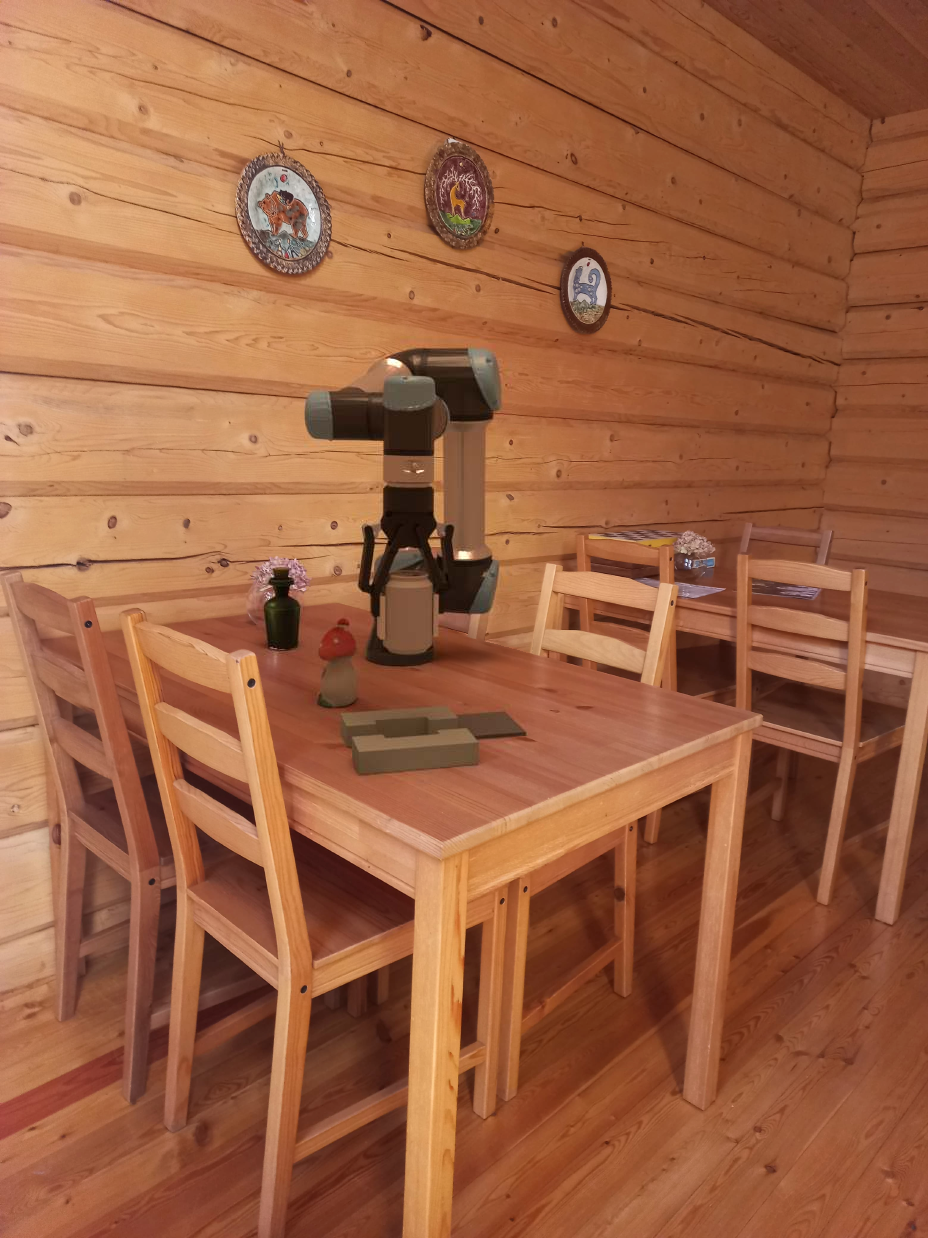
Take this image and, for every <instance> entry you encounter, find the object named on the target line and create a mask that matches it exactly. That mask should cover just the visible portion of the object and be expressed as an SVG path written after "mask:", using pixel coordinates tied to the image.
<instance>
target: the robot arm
mask: <svg viewBox="0 0 928 1238" xmlns="http://www.w3.org/2000/svg"><path fill="white" fill-rule="evenodd" d="M502 402H503V401H502V383H501V375H500V368H499V364H498V360H497V357H496V356H495V353H494V352H493V351H491V350H490V349H486V348H485V349H484V348H476V347H475V348H473V347H448V348H447V347H446V348H445V347H440V348H438V347H435V348H434V347H433V348H430V347H428V348H427V347H416V348H415V347H414V348H410V349H409V348H408V349H406V350H401V351H399V352H396V353H393V354H390V355H388V356H387V355H386V356H385V357H383V358H381V359H378V360H377V361H376V362H374V363H373V364H372V365H370V367H369V368H368V370H367V371H366V374H364V375H363V376H361V377H359V378H358V379H356V380H354V381H352V382H351V383H349V384H348V385H346V386H344V387H342V388H341V389H339V390H328V389H326V390H322V391H321V390H319V391H312V392H310V393H309V394H308V396H307V398H306V400H305V405H304V423H305V429H306V432H307V434H308V435H309V436H310V437H311V438H313V439H316V440H325V441H326V440H327V441H330V442H333V441H363V442H364V441H367V442H368V441H371V442H372V441H373V442H382V445H383V448H382V449H383V450H382V453H383V455H382V481H383V482H385V483H386V485H385V486H384V487H383V488H382V516H381V518H380V520H379V522H375V523H371V524H368V523H364V524H363V525H362V526H361V530H362V536H363V547H362V552H361V561H360V566H359V567H360V568H359V575H358V583H357V587H358V589H359V590H360V591H361V592H362V593H366V594H369V599H370V602H369V603H370V604H369V605H370V607H369V608H370V611H369V612H370V615H371V616H372V617H373V623H372V627H371V629H370V632H369V636H368V638H367V642H366V645H365V659H366V660H368V661H370V662H373V663H374V664H375V663H376V664H379V665H387V666H388V665H389V666H414V665H422V664H426V663H429V662H432V661H433V660H434V659H435V658H436V646H435V642H434V640H433V639H434V638H436V637H439V615H444V613H445V614H446V613H447V614H448V613H449V614H463V615H464V614H465V615H468V616H470V615H484V614H485V615H486V614H488V613H489V612H490V611H491V609H492V607H493V605H494V600H495V597H496V591H497V586H498V579H499V573H500V562H499V560H496V558H494V559H493V551H492V550H493V549H491V548H490V547H489V546H488V545H487V544H486V452H487V451H486V435H487V434H486V430H487V427H488V426H489V425H490V424H491V423H492V422H493V421H494V415H495V414H494V412H495V413H496V412H497V411H501V408H502ZM441 437H442V467H443V468H442V470H443V471H442V475H443V476H442V477H443V478H442V479H443V480H442V481H443V482H442V483H443V485H442V486H443V487H442V489H443V490H442V492H443V497H442V498H443V522H438V521H437V519H436V518H435V515H434V513H435V511H434V510H435V509H434V508H435V489H434V487H433V486H431V484H432V483H433V482H435V441H437V440H438V439H440V438H441ZM435 530H436V533H437V536H438V537H439V540H440V547H439V548H437V550H436V557H435V556H434V555H433V552H432V549H431V546H430V543H429V538H431V536H432V534H433V533H434V531H435ZM380 531H382V532H383V533H384V535H385V536H386V538H387V542H386V545H385V548H384V552H383V553H382V554H380V555H378V556H377V557H376V558H375V560H374V553H375V547H376V546H375V545H376V540H375V539H377V538H378V537H379V534H380ZM407 548H412V549H407ZM401 549H403V550H401ZM373 560H374V563H373ZM373 564H374V565H373ZM372 567H373V575H372ZM399 570H416V571H423V572H427V573H428V574H429V575H428V579H429V580H430V581H431V582H432V583H433V611H432V645H431V646H430V647H429V648H428V649H427V650H426V651H425V652H423V653H419V654H396V653H392V652H390V651H389V650H388V649H387V648H386V647H385V646H384V645H383V639H385V596H384V595H383V586H384V583H385V581H386V579H387V578H388V573H389V572H391V571H399ZM371 575H372V582H371ZM370 582H371V583H370ZM433 637H434V638H433Z"/></svg>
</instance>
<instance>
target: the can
mask: <svg viewBox="0 0 928 1238" xmlns="http://www.w3.org/2000/svg"><path fill="white" fill-rule="evenodd" d="M428 575H429V574H428V573H427V572H423V571H416V570H399V571H391V572H389V573H388V578H387V579H386V581H385V583H384V586H383V595H384V596H385V639H383V645H384V646H385V647H386V648H387V649H388V650H389V651H390V652H392V653H396V654H419V653H423V652H425V651H426V650H427V649H428V648H429V647H430V646H431V645H432V639H433V636H432V611H433V583H432V582H431V581H430V580H429V579H428Z"/></svg>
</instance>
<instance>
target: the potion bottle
mask: <svg viewBox="0 0 928 1238" xmlns="http://www.w3.org/2000/svg"><path fill="white" fill-rule="evenodd" d="M290 571H291V568H290V567H288V566H275V567H272V572H273V573H272V574H273V577H270V578H268V579H269V580H268V581H267V582H268V583H267V584H268V585H269V586H272V589H273V592H274V596H273V597H271V598H269V599H268V600H266V601H265V603H264V604H263V615H264V622H265V631H266V639H267V640H266V641H267V647H268V646H269V647H273V648H277V649H291V648H295V647H296V648H297V647H298V646H299V632H300V619H301V604H300V602H299V601H298V600H297V599H295V598H294V597H293V596H290V595H289V594H290V589H291V586H293V585H295V584H296V581H295V580H294V578H293V577H292V576H290ZM269 647H268V648H269ZM296 648H295V649H296Z"/></svg>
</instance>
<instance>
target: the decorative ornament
mask: <svg viewBox="0 0 928 1238" xmlns="http://www.w3.org/2000/svg"><path fill="white" fill-rule="evenodd" d="M336 624H337V626H335V627H332V628H331V629H329V630H328V631H327V632H326V633H325V634H324V636H323V638H321V641H320V643H319V646H318V656H319V658H320V659H322V660H323V661H326V665H325V667H324V669H323V670H322V673H321V677H320V678H321V679H320V690H318V692H317V693H316V694H317V695H316V701H317V703H318V705H319V706H321V707H324V708H329V709H331V708H332V709H333V708H338V707H339V708H340V707H347V706H349V705H351V704H352V703H353V704H354V702H355V701H356V698H357V694H358V678H357V675H356V672H355V669H354V667H353V664H352V661H351V658H352V657H353V656H355V655H356V653H357V652H358V644H357V641H356V638H355V637H354V635H353V634H352V632H351V631H350V630H349V629H348V627H350V621H349V620H348V619H346V618H340V619H338V620H337V622H336Z"/></svg>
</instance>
